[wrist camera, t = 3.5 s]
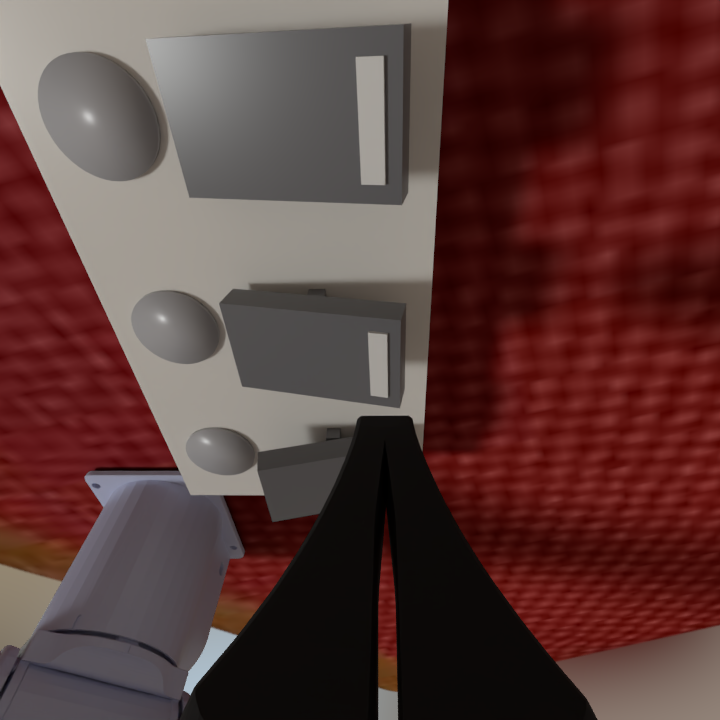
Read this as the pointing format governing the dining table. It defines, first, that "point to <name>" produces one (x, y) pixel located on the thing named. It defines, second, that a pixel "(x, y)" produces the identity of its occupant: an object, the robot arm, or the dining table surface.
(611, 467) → the dining table surface
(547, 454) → the dining table surface
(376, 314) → the middle rocker
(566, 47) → the dining table surface
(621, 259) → the dining table surface
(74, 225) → the power strip
